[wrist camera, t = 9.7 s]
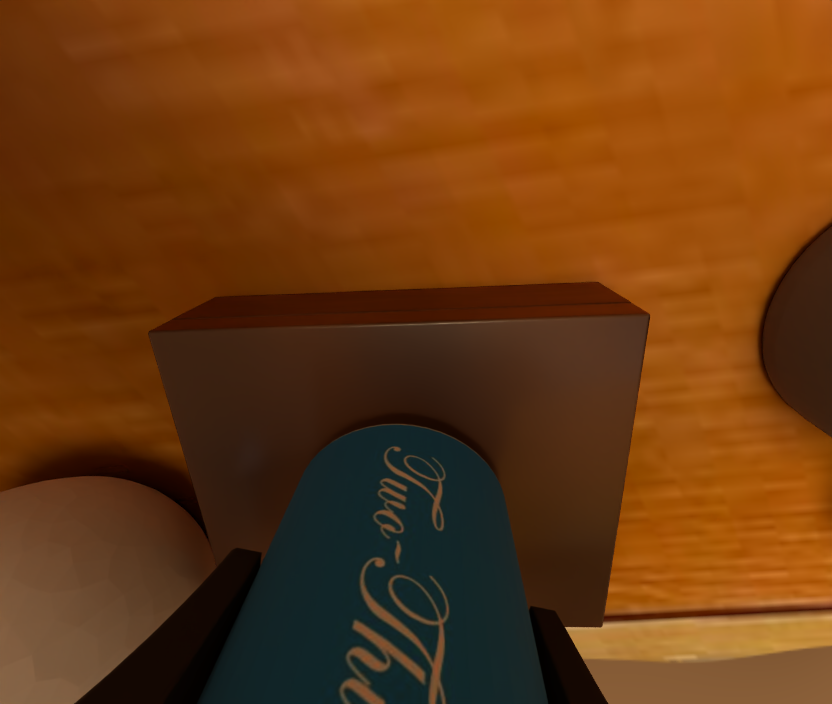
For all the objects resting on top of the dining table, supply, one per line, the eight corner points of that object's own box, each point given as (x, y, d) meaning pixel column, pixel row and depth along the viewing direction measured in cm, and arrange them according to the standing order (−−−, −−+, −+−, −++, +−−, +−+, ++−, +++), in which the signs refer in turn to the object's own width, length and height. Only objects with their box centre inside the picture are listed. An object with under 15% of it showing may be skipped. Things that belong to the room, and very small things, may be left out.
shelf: (270, 543, 20) (232, 624, 17) (214, 296, 16) (146, 331, 12) (571, 543, 19) (603, 628, 16) (598, 281, 15) (651, 313, 11)
